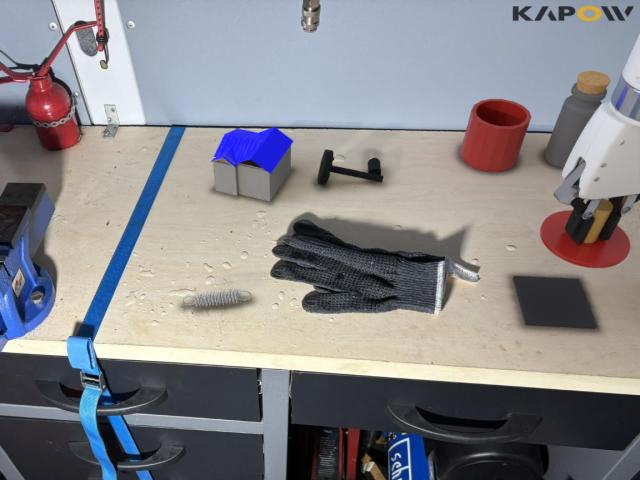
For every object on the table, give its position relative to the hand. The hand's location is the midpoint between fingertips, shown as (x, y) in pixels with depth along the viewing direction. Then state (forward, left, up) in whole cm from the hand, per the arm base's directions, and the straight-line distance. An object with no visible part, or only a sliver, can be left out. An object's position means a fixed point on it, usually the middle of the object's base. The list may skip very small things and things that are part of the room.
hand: (586, 233), depth 74 cm
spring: (+46, -9, -13) cm, 48 cm away
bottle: (-18, -31, -13) cm, 38 cm away
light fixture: (+19, -36, -13) cm, 42 cm away
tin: (-6, -35, -13) cm, 37 cm away
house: (+36, -37, -13) cm, 53 cm away
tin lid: (0, 0, -1) cm, 1 cm away
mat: (0, 0, -13) cm, 13 cm away
